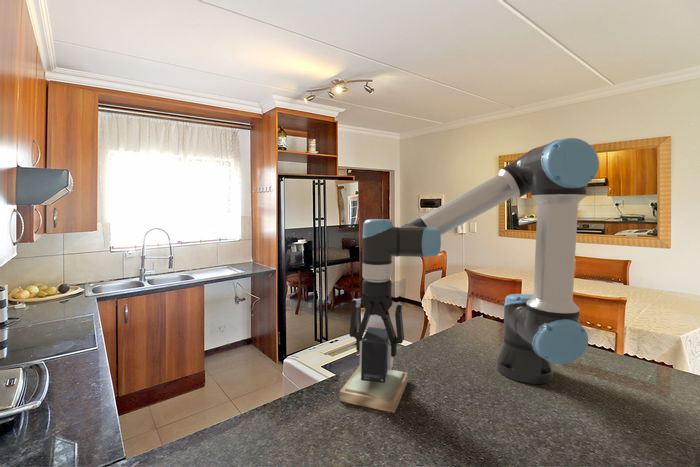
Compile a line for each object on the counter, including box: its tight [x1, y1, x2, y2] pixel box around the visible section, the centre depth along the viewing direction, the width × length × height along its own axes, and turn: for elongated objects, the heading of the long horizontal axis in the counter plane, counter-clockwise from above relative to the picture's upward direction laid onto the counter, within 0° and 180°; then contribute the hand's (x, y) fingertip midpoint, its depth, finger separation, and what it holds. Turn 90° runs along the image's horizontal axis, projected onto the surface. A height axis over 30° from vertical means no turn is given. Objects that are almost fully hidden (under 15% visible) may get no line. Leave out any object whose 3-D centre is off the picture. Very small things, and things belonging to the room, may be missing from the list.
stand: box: [339, 364, 409, 414], centre depth 92 cm, size 14×16×3 cm
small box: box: [361, 326, 390, 383], centre depth 91 cm, size 11×6×10 cm, turn 168°
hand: (376, 365), depth 92 cm, fingers closed on small box, 7 cm apart
